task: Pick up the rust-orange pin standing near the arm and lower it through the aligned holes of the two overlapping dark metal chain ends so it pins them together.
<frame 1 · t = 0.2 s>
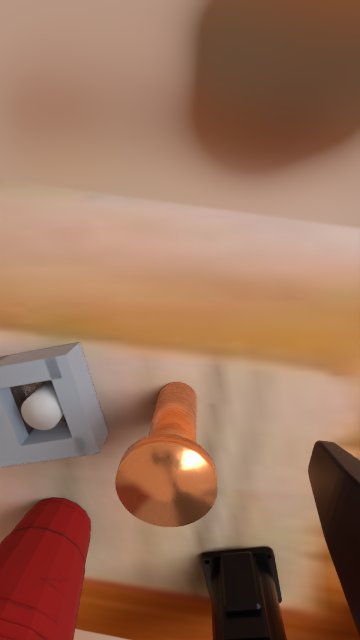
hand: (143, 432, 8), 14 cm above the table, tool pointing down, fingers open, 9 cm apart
plastic cup: (64, 520, 28), on the table
pin: (177, 399, 23), on the table
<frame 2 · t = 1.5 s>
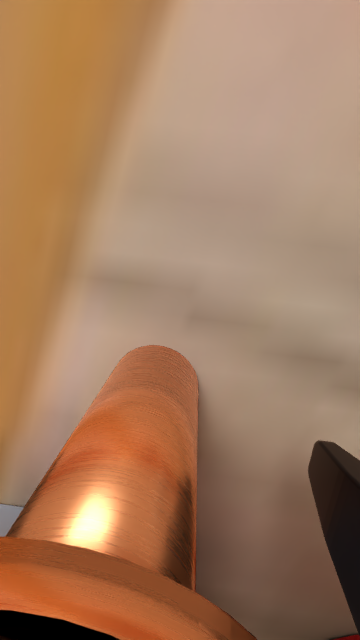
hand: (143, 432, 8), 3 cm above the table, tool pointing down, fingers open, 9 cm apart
pin: (155, 385, 10), on the table
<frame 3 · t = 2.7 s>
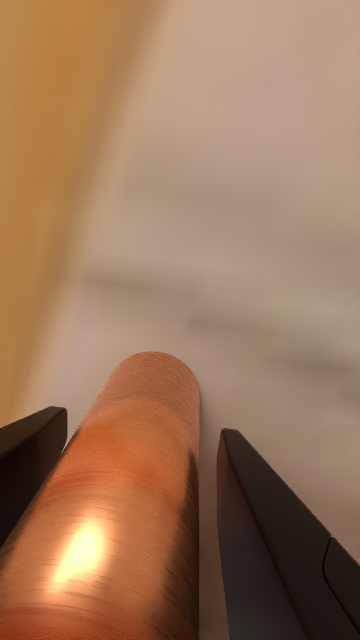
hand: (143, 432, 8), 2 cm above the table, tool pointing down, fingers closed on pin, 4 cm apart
pin: (153, 394, 10), on the table, touching gripper
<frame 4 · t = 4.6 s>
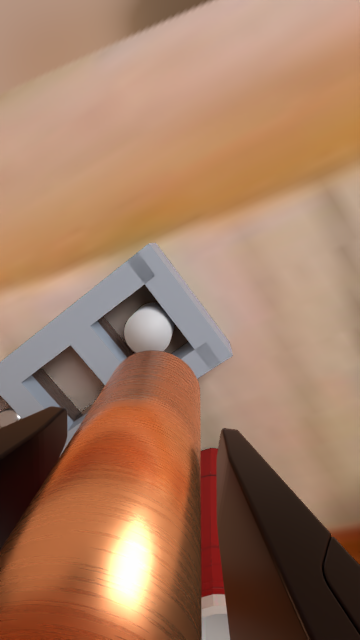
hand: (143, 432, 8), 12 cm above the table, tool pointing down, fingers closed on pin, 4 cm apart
plastic cup: (219, 477, 23), on the table
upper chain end: (82, 374, 21), on the table
pin: (154, 393, 10), point 10 cm above the table, touching gripper
lower chain end: (82, 374, 21), on the table
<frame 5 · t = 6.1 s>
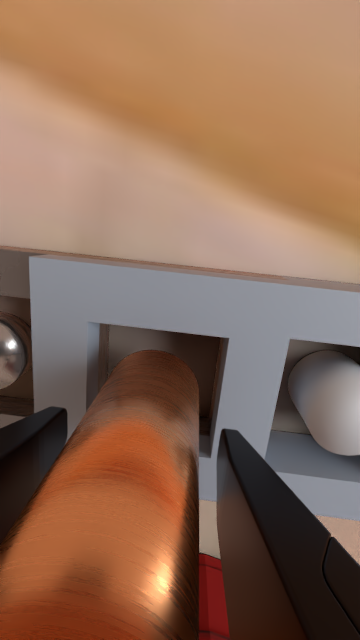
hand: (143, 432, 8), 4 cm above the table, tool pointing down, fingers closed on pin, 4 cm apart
plastic cup: (198, 591, 16), on the table
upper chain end: (161, 363, 12), on the table
pin: (153, 392, 10), point 2 cm above the table, touching gripper
lower chain end: (161, 363, 12), on the table
when the fingers open (4 cm above the table, at t = 6.9 s): pin drops 2 cm, on the table.
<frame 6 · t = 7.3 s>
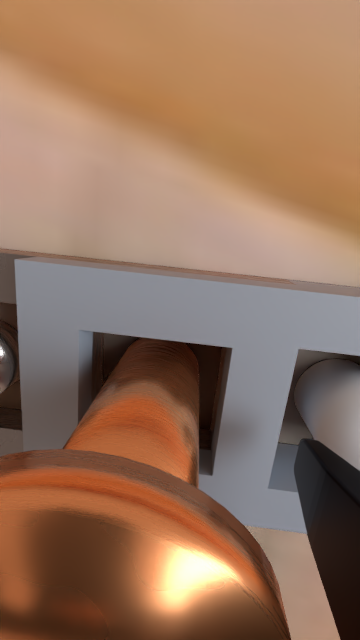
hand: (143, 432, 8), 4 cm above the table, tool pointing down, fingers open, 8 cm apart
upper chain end: (159, 372, 11), on the table
pin: (159, 371, 11), on the table
lower chain end: (159, 372, 11), on the table
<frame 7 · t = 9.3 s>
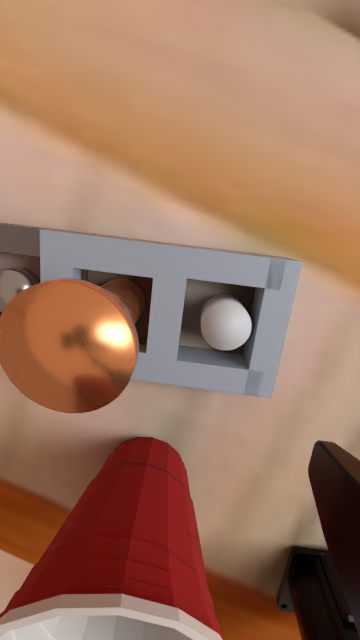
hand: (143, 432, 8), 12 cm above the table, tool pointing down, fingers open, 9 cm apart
plastic cup: (150, 468, 23), on the table
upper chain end: (121, 302, 19), on the table
pin: (121, 302, 19), on the table
lower chain end: (121, 302, 19), on the table
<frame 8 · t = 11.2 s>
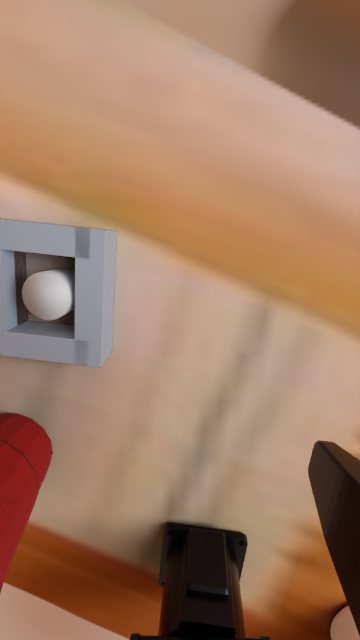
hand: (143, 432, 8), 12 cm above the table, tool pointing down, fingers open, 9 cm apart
plastic cup: (21, 444, 23), on the table
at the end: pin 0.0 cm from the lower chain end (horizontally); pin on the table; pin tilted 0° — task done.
